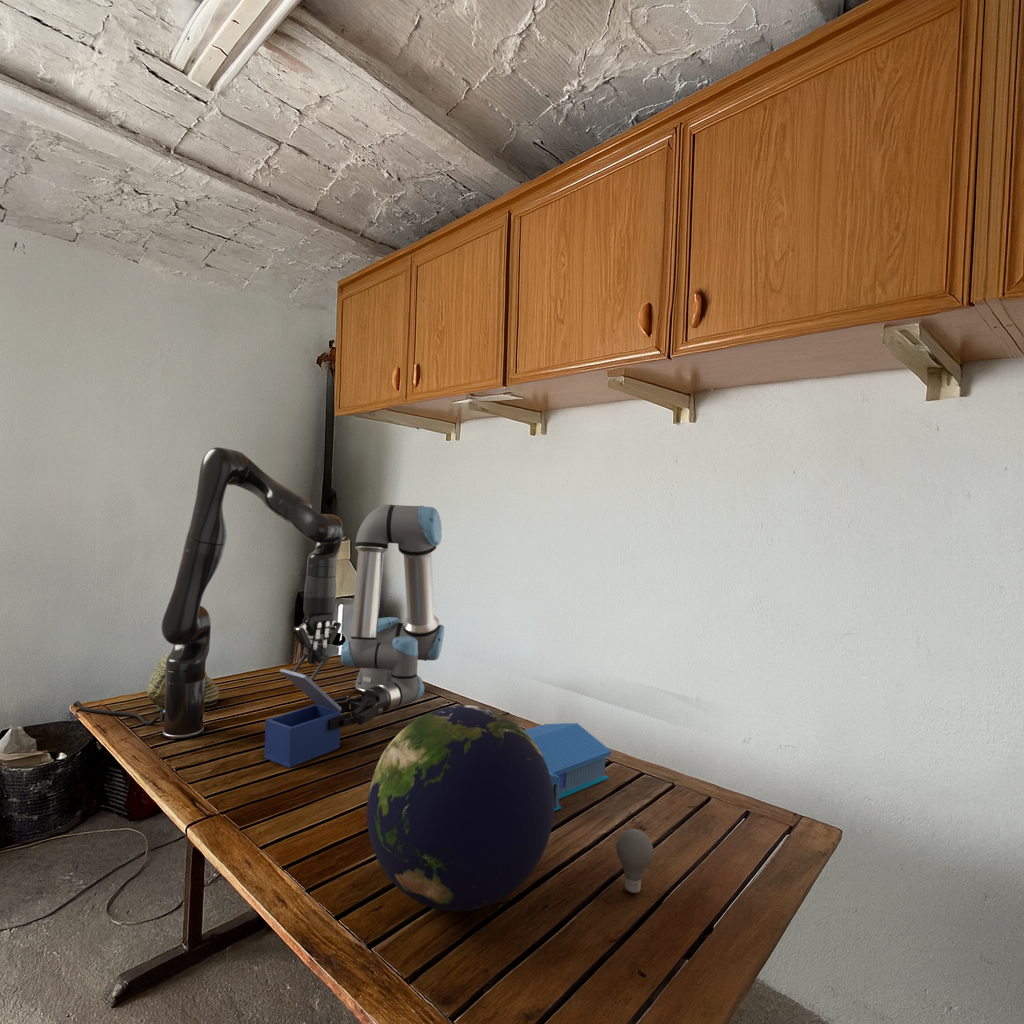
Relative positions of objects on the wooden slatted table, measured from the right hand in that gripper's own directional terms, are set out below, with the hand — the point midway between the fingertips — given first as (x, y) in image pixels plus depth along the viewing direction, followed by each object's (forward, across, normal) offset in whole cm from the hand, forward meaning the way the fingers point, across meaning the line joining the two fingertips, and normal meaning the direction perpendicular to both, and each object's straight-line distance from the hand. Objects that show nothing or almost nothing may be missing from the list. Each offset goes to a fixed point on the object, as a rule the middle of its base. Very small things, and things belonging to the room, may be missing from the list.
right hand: (315, 720), depth 159 cm
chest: (+4, 0, -7) cm, 8 cm away
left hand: (+1, 0, +15) cm, 15 cm away
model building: (-14, -53, -7) cm, 55 cm away
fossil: (+3, +53, -7) cm, 54 cm away
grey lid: (+2, 0, +8) cm, 8 cm away
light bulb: (+7, -87, -7) cm, 88 cm away
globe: (+25, -65, -7) cm, 70 cm away
